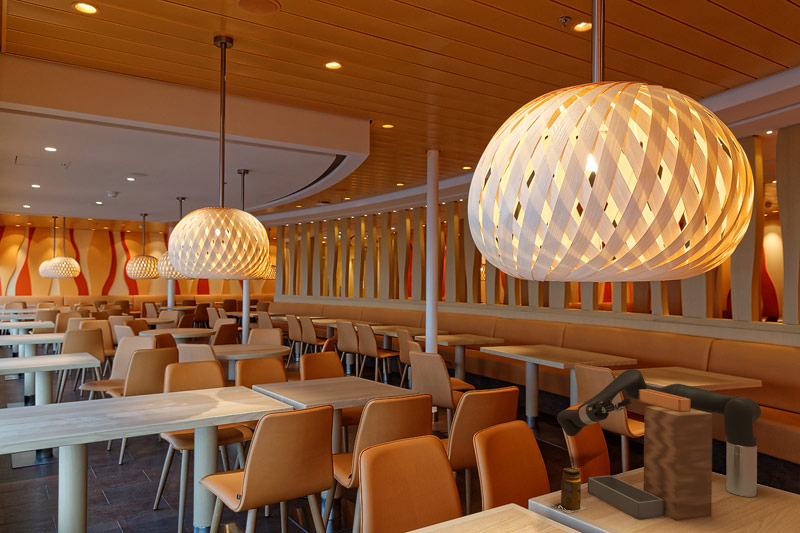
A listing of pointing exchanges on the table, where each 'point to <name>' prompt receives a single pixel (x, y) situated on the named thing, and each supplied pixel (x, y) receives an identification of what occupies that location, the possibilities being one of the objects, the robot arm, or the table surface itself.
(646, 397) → the narrow crate
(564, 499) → the condiment
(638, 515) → the charcoal crate
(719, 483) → the table surface
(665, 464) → the walnut stand
